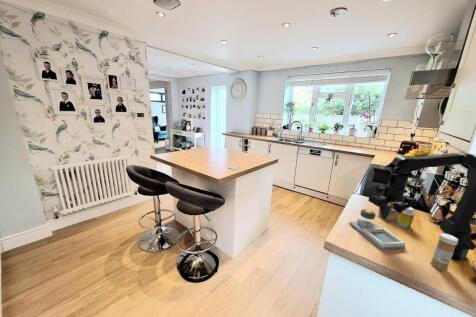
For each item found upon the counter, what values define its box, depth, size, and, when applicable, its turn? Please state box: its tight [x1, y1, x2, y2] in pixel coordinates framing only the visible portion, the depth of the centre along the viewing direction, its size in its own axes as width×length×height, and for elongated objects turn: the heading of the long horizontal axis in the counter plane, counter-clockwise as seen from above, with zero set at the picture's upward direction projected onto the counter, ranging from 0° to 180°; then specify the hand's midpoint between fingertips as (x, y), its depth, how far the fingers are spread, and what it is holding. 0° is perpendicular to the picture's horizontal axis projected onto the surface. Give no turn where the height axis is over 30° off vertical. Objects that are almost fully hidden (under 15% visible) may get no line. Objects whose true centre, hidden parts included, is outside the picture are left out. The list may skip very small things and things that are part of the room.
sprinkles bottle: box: [430, 232, 458, 272], centre depth 71 cm, size 5×5×14 cm
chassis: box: [348, 217, 406, 251], centre depth 90 cm, size 19×12×4 cm, turn 8°
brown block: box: [377, 208, 400, 224], centre depth 84 cm, size 5×4×6 cm
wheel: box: [360, 208, 376, 220], centre depth 95 cm, size 6×6×2 cm
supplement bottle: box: [396, 206, 416, 229], centre depth 99 cm, size 6×6×10 cm
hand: (387, 218), depth 85 cm, fingers closed on brown block, 4 cm apart
